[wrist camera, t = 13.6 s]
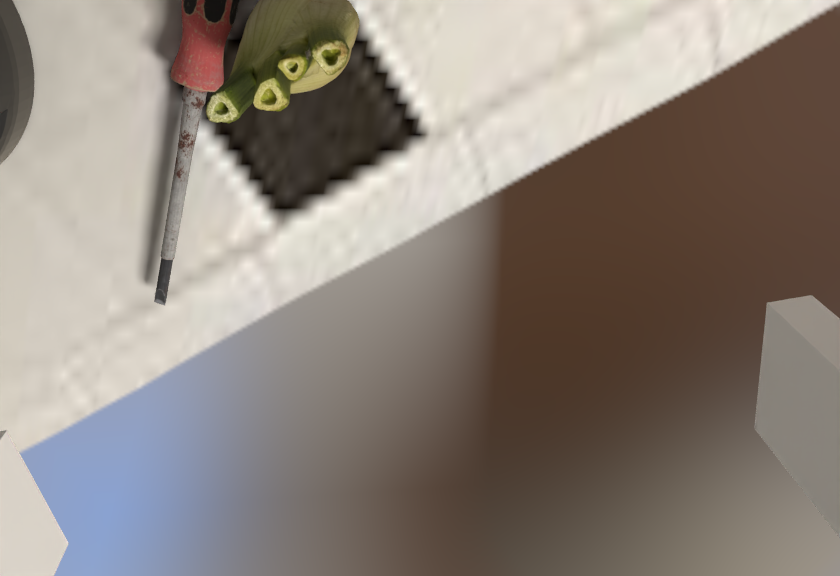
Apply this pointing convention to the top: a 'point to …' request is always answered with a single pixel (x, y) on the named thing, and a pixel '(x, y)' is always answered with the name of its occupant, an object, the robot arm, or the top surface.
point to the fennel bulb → (286, 54)
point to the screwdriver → (193, 103)
